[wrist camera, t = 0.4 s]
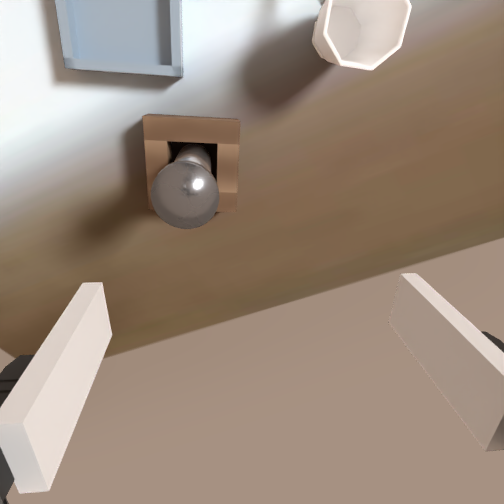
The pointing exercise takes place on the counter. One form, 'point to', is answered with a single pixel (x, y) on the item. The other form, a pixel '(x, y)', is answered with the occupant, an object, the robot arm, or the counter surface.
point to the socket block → (200, 131)
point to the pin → (186, 189)
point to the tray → (122, 36)
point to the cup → (360, 31)
